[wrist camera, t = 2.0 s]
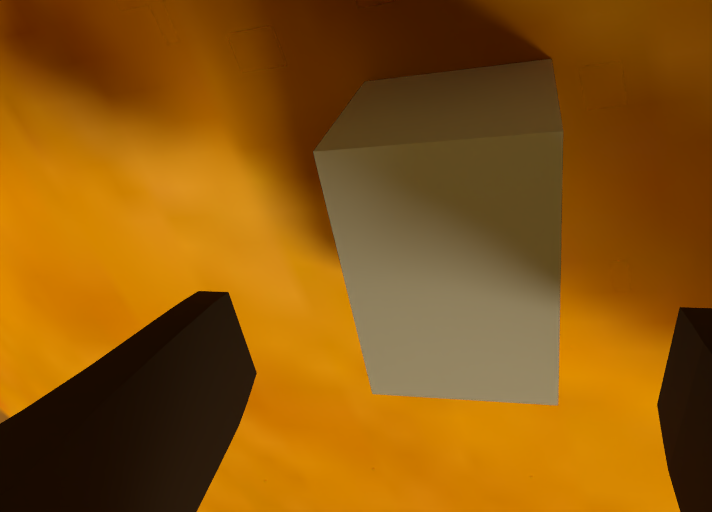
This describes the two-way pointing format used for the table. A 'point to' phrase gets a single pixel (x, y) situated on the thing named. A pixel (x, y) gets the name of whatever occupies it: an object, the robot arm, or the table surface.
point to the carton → (452, 230)
